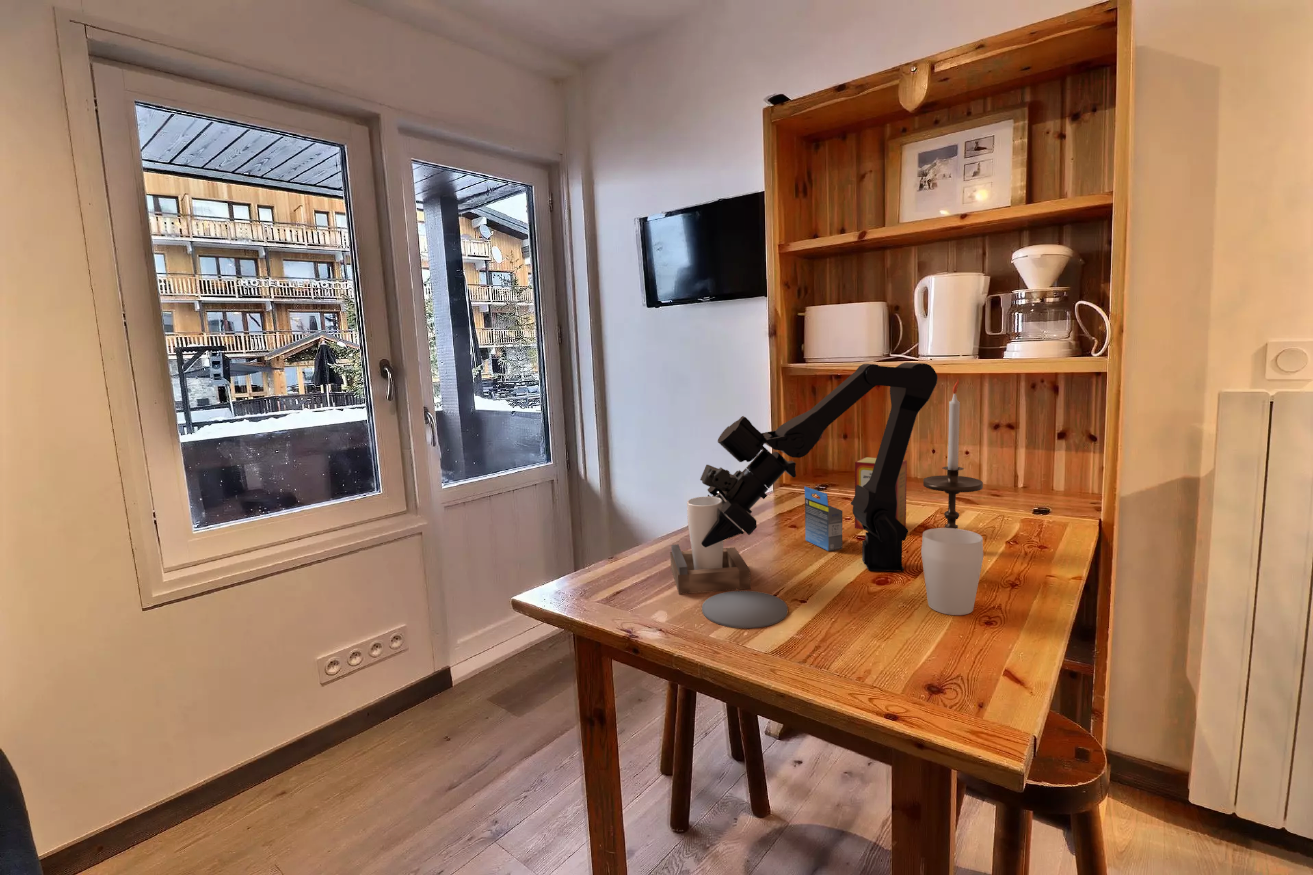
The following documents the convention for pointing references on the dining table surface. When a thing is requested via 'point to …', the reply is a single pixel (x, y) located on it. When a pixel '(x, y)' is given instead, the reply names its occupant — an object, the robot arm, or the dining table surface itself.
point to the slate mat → (744, 609)
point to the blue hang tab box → (822, 521)
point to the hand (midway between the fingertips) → (700, 539)
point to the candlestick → (953, 467)
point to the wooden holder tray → (709, 572)
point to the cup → (951, 569)
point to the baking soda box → (864, 474)
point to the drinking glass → (704, 532)
